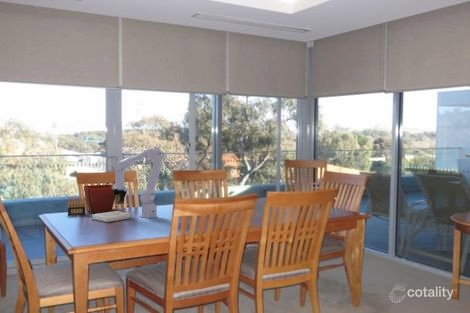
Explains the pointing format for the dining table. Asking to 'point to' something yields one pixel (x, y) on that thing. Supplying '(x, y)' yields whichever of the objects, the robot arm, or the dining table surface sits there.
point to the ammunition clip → (72, 207)
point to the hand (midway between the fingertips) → (119, 201)
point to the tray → (111, 216)
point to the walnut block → (118, 199)
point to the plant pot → (99, 197)
